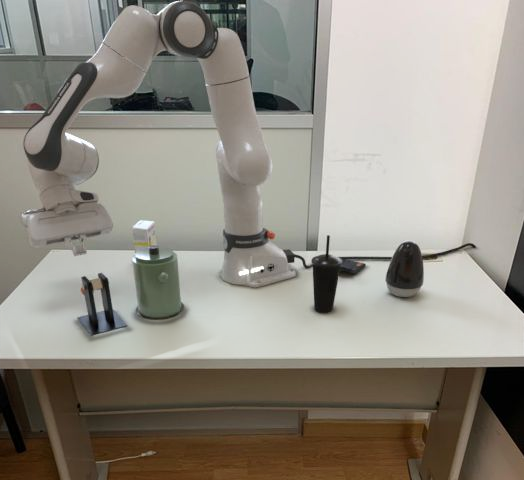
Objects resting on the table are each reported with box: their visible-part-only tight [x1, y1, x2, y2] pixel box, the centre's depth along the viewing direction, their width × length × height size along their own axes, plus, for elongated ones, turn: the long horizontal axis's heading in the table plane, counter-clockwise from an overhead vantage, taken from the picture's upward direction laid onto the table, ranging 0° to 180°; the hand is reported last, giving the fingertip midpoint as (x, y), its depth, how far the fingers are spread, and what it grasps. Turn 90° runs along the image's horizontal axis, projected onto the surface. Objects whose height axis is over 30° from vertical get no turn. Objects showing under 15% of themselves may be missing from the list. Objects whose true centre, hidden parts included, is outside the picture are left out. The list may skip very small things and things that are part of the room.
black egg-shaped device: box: [384, 240, 425, 298], centre depth 144 cm, size 10×10×15 cm
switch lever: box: [80, 277, 103, 297], centre depth 131 cm, size 13×3×3 cm, turn 33°
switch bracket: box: [76, 272, 128, 337], centre depth 129 cm, size 11×9×13 cm
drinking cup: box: [310, 234, 342, 314], centre depth 135 cm, size 8×8×20 cm
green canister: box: [131, 244, 185, 321], centre depth 133 cm, size 18×12×18 cm
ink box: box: [131, 219, 157, 254], centre depth 167 cm, size 9×5×12 cm, turn 174°
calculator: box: [339, 258, 366, 275], centre depth 162 cm, size 9×12×3 cm
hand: (80, 254), depth 130 cm, fingers closed
